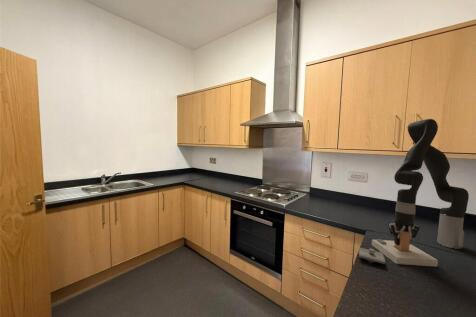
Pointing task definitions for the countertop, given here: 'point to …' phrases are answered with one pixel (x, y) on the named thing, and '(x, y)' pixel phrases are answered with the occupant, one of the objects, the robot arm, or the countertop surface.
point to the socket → (404, 254)
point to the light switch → (371, 255)
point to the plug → (404, 242)
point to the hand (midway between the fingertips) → (401, 244)
